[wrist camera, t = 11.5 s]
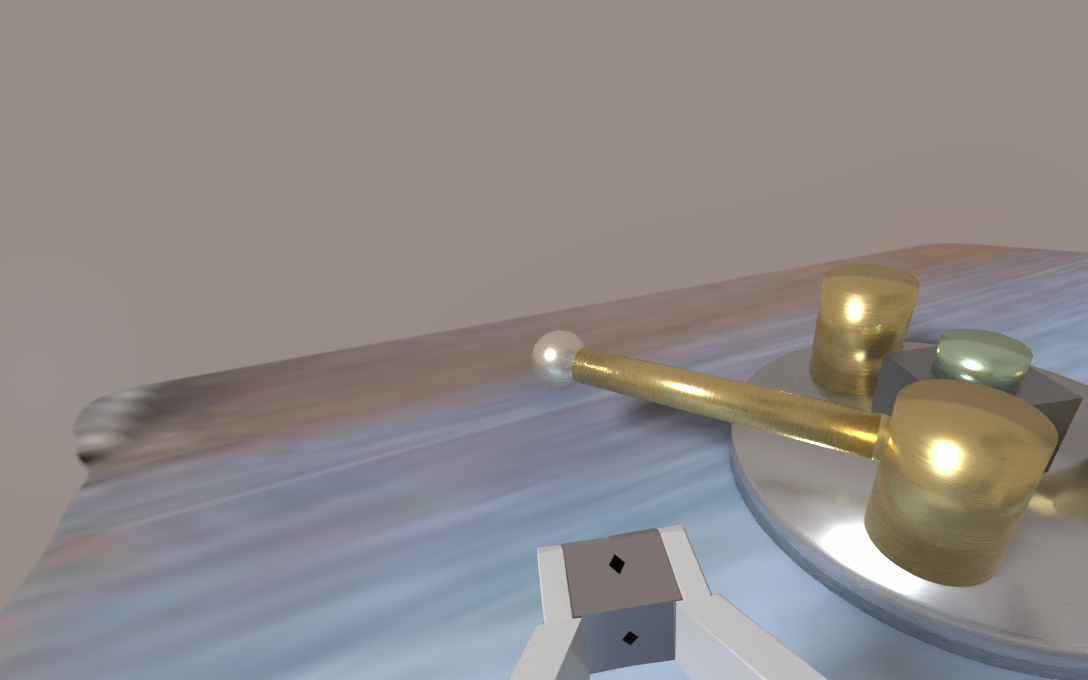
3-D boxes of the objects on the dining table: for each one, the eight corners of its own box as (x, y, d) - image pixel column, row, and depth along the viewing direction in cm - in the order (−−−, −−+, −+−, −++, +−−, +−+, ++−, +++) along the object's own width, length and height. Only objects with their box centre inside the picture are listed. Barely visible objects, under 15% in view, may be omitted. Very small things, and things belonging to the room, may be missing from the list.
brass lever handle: (995, 518, 22) (1048, 396, 19) (1003, 607, 19) (1068, 477, 16) (563, 396, 32) (554, 305, 29) (521, 440, 29) (507, 343, 26)
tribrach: (972, 348, 36) (1011, 233, 32) (1433, 633, 19) (1640, 456, 15) (679, 390, 35) (683, 277, 31) (874, 728, 18) (937, 567, 14)
